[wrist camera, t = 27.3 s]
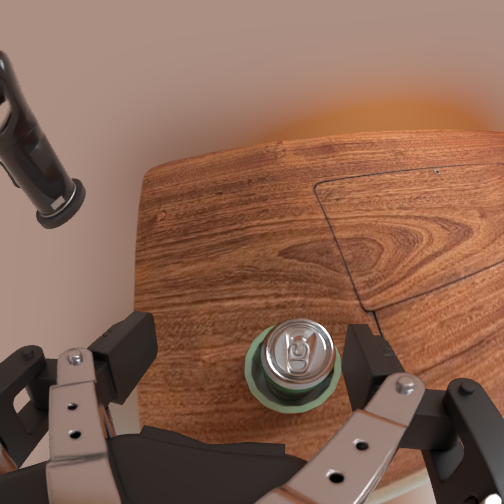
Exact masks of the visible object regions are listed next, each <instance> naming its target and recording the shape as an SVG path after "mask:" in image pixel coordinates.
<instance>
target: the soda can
mask: <svg viewBox="0 0 504 504" xmlns="http://www.w3.org/2000/svg"><path fill="white" fill-rule="evenodd" d="M335 360H336V349H335V344H334V341H333V339H332V337H331V335H330V334H329V333H328V331H327V330H326V329H325V328H323V327H322V326H321V325H319V324H318V323H316V322H314V321H311V320H308V319H302V318H296V319H289V320H286V321H283V322H281V323H279V324H277V325H276V326H274V327H273V328H272V329H271V330H270V331H269V332H268V333H267V335H266V336H265V338H264V340H263V342H262V344H261V348H260V362H261V366H262V370H263V374H264V378H265V381H266V385H267V387H268V389H269V391H270V392H271V393H272V394H273V395H274V396H275V397H277V398H279V399H281V400H284V401H296V400H300V399H302V398H304V397H305V396H307V395H308V394H309V393H310V392H312V391H313V390H314V389H315V388H316V387H318V386H319V385H320V384H321V383H322V382H323V381H324V380H325V379H326V378H327V377H328V376H329V375H330V373H331V371H332V369H333V367H334V364H335Z"/></svg>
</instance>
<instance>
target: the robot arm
mask: <svg viewBox="0 0 504 504" xmlns="http://www.w3.org/2000/svg"><path fill="white" fill-rule="evenodd" d="M4 102H8V105H9V106H8V110H7V112H6V114H5V117H4V118H3V120H2V122H1V123H0V159H1V161H2V162H3V163H2V162H1V161H0V165H1V166H3V168H4V169H5V170H6V172H7V173H8V175H9V177H10V178H11V180H12V181H13V183H14V185H15V186H16V187H18V188H21V189H22V190H23V192H24V193H25V194H26V196H27V197H28V198H29V200H30V201H31V202H32V204H33V205H34V206H35V207H36V209H37V210H38V211H39V213H40V215H41V216H42V217H43V218H46V219H49V218H53V217H55V216H57V215H59V214H60V213H62V212H63V211H64V210H65V209H66V208H67V207H68V206H69V205H70V204H71V203H72V201H73V200H74V198H75V196H76V193H77V187H76V185H75V183H74V182H73V181H72V179H71V178H70V176H69V175H68V173H67V171H66V170H65V168H64V166H63V165H62V163H61V162H60V160H59V158H58V156H57V155H56V153H55V151H54V150H53V148H52V146H51V144H50V142H49V141H48V139H47V138H46V135H45V133H44V132H43V130H42V128H41V126H40V124H39V123H38V121H37V119H36V117H35V115H34V113H33V112H32V110H31V108H30V106H29V104H28V102H27V100H26V98H25V96H24V93H23V91H22V89H21V86H20V84H19V81H18V78H17V75H16V73H15V70H14V67H13V65H12V62H11V60H10V58H9V56H8V55H7V54H6V52H4V51H2V50H0V106H1V105H2V104H3V103H4ZM14 179H15V180H14ZM15 181H16V182H17V183H16V182H15ZM157 351H158V345H157V338H156V331H155V324H154V317H153V315H152V314H151V313H147V312H139V311H134V312H133V313H132V314H131V315H129V316H128V317H127V318H126V319H125V320H123V321H121V322H119V323H117V324H114V325H113V326H112V327H111V328H109V329H108V330H107V332H105V333H104V334H103V335H102V336H100V337H99V338H98V339H97V340H96V341H95V342H93V343H92V344H91V345H90V346H89V347H88V348H87V349H85V348H72V349H69V350H66V351H64V352H63V353H61V354H60V356H59V357H58V359H46V358H45V356H44V353H43V350H42V348H41V347H39V346H35V345H29V346H24V347H22V348H20V349H18V350H16V351H15V352H14V353H13V354H11V355H10V356H9V357H8V358H6V359H5V360H4V361H3V362H1V363H0V504H364V503H365V502H366V501H367V499H368V498H369V496H370V495H371V493H372V492H373V490H374V489H375V487H376V486H377V484H378V482H379V481H380V479H381V478H382V476H383V475H384V473H385V472H386V470H387V468H388V467H389V465H390V463H391V462H392V460H393V458H394V457H395V455H396V453H397V451H398V450H399V448H409V449H421V451H422V454H423V458H424V461H425V464H426V467H427V471H428V474H429V478H430V481H431V485H432V488H433V492H434V496H435V499H436V503H437V504H504V419H503V417H502V416H501V414H500V413H499V411H498V410H497V408H496V407H495V405H494V404H493V402H492V401H491V399H490V398H489V396H488V395H487V393H486V392H485V390H484V389H483V388H482V386H481V385H480V384H479V383H477V382H476V381H474V380H471V379H467V378H457V379H454V380H452V381H451V382H450V383H449V385H448V388H447V390H446V391H443V390H431V389H425V384H424V382H423V381H422V380H421V379H420V378H419V377H417V376H415V375H413V374H409V373H406V372H405V370H404V369H403V367H402V365H401V363H400V362H399V360H398V358H397V356H395V353H394V351H393V350H392V348H391V346H390V345H389V343H388V341H386V340H385V339H384V338H382V337H381V336H379V335H375V336H374V335H373V333H372V331H371V329H370V328H369V326H368V324H349V325H348V328H347V333H346V340H345V346H344V352H343V358H342V372H343V376H344V380H345V383H346V387H347V391H348V395H349V399H350V403H351V407H352V411H353V414H352V415H351V416H350V417H349V418H348V420H347V421H346V422H345V423H344V424H343V425H342V427H341V428H340V429H339V430H338V431H337V432H336V433H335V434H334V436H333V437H332V438H331V439H330V440H329V441H328V442H327V443H326V444H325V445H324V446H323V447H322V449H321V450H320V451H319V452H318V453H317V454H316V455H315V456H314V457H313V458H312V459H311V460H310V461H309V462H308V461H306V460H303V459H301V458H298V457H295V456H292V455H288V454H285V444H272V443H255V442H243V443H231V444H214V445H211V444H206V443H203V442H200V441H198V440H195V439H192V438H190V437H187V436H185V435H182V434H180V433H177V432H173V431H168V430H164V429H159V428H155V427H150V426H146V425H144V427H143V429H142V431H141V432H140V434H124V435H118V436H117V435H116V432H115V428H114V424H113V421H112V417H111V413H110V409H109V407H108V404H109V403H110V402H113V403H116V404H120V405H123V403H124V402H125V400H126V399H127V398H128V396H129V395H130V393H131V392H132V390H133V389H134V388H135V386H136V385H137V384H138V382H139V381H140V379H141V378H142V377H143V375H144V374H145V372H146V371H147V370H148V368H149V367H150V365H151V364H152V363H153V361H154V360H155V358H156V356H157ZM24 387H25V388H26V391H27V393H28V395H29V397H30V399H31V400H30V401H29V402H28V403H27V404H26V405H25V406H24V407H23V408H22V409H21V410H20V411H19V412H18V414H17V413H16V411H15V409H14V406H13V401H14V398H15V396H16V395H17V394H18V393H19V392H20V391H21V390H22V389H23V388H24ZM48 430H49V448H50V460H48V461H44V462H41V463H38V464H35V465H32V466H28V467H25V468H21V469H19V468H20V467H21V466H22V464H23V463H24V462H25V460H26V459H27V457H28V456H29V455H30V453H31V452H32V451H33V449H34V448H35V447H36V446H37V444H38V443H39V442H40V440H41V439H42V438H43V436H44V435H45V434H46V433H47V431H48ZM460 439H461V441H462V443H463V446H464V448H463V446H462V444H461V441H460Z"/></svg>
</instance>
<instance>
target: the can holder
mask: <svg viewBox="0 0 504 504" xmlns="http://www.w3.org/2000/svg"><path fill="white" fill-rule="evenodd" d="M274 326H276V325H274ZM274 326H272V327H269V328H267V329H265V330H264V331H263V332H262V333H261V334H260V335H259V336H258V337H257V338H256V339H255V340H254V341H253V342H252V344H251V346H250V348H249V350H248V352H247V354H246V356H245V373H244V375H245V378H246V381H247V383H248V386H249V388H250V391H251V393H252V394H253V395H254V396H255V398H256V399H257V400H258V401H259V402H260V403H261V404H262V405H263V406H265V407H266V408H267V409H269V410H271V411H274V412H276V413H279V414H289V415H290V414H300V413H303V412H306V411H308V410H310V409H313V408H315V407H317V406H319V405H321V404H322V403H323V402H324V401H325V400H326V399H327V398H328V397H329V396H330V395H331V394H332V393H333V392H334V390H335V388H336V386H337V383H338V380H339V378H340V375H341V362H340V354H339V352H338V350H337V348H336V346H335V349H336V360H335V364H334V367H333V369H332V371H331V373H330V375H329V376H328V377H327V378H326V379H325V380H324V381H323V382H322V383H321V384H320V385H319V386H318V387H316V388H315V389H314V390H313V391H312V392H310V393H309V394H308V395H307V396H305V397H304V398H302V399H300V400H296V401H284V400H281V399H279V398H277V397H275V396H274V395H273V394H272V393H271V392H270V391H269V389H268V387H267V385H266V381H265V378H264V374H263V370H262V366H261V362H260V348H261V344H262V342H263V340H264V338H265V336H266V335H267V333H268V332H269V331H270V330H271V329H272V328H273V327H274Z"/></svg>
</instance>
